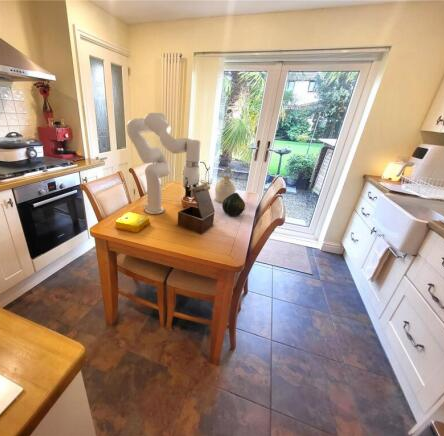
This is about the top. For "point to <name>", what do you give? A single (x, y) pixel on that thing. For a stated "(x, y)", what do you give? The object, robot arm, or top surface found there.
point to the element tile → (132, 222)
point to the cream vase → (224, 187)
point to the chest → (194, 220)
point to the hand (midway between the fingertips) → (190, 195)
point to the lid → (203, 200)
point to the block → (191, 191)
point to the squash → (233, 204)
